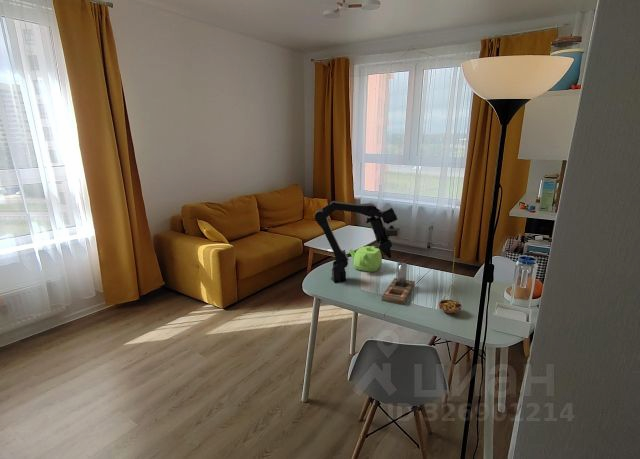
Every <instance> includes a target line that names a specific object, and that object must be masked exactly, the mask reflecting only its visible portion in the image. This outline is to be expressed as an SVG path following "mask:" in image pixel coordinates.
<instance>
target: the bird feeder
mask: <svg viewBox="0 0 640 459" xmlns="http://www.w3.org/2000/svg"><path fill="white" fill-rule="evenodd" d="M453 251H454V253H453V255H454V256H453V262H452V274H451V282H453V279H454V268H455V267H454V266H455V257H456V247H454V250H453ZM448 288H449V289H448V290H447V292H446V294H445V296H443V298H442V299H441V300H440V301H439V303H438V308H439V309H440V310H441V311H442V312H445V313H447V314H456V313H458V312H460V311H461V310H462V304H461V302H460V301H459V299H458V297H457V294H456V291H455V288H454V286H453V283H451V284H450V286H449V287H448ZM452 289H453V293H454V294H455V295H454V296H455V297H456V300H452V299H451V295H452V294H451V293H452ZM448 293H449V297H448V299H446V297H447V295H448Z"/></svg>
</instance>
